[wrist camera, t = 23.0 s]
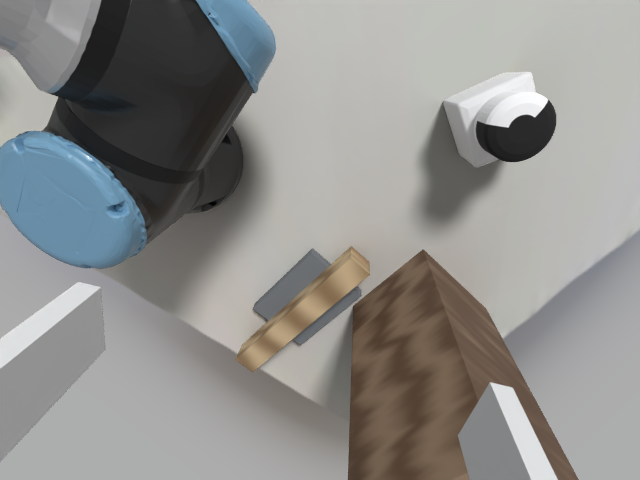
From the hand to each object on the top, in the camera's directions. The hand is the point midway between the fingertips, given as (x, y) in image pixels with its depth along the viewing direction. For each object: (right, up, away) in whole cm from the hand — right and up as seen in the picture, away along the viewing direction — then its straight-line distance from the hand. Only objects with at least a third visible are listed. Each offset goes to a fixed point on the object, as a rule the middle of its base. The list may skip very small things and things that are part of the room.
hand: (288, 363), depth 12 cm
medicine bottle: (+20, +19, +30) cm, 41 cm away
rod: (-2, -6, +42) cm, 43 cm away
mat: (-1, -5, +43) cm, 43 cm away
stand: (+16, -6, +42) cm, 45 cm away
